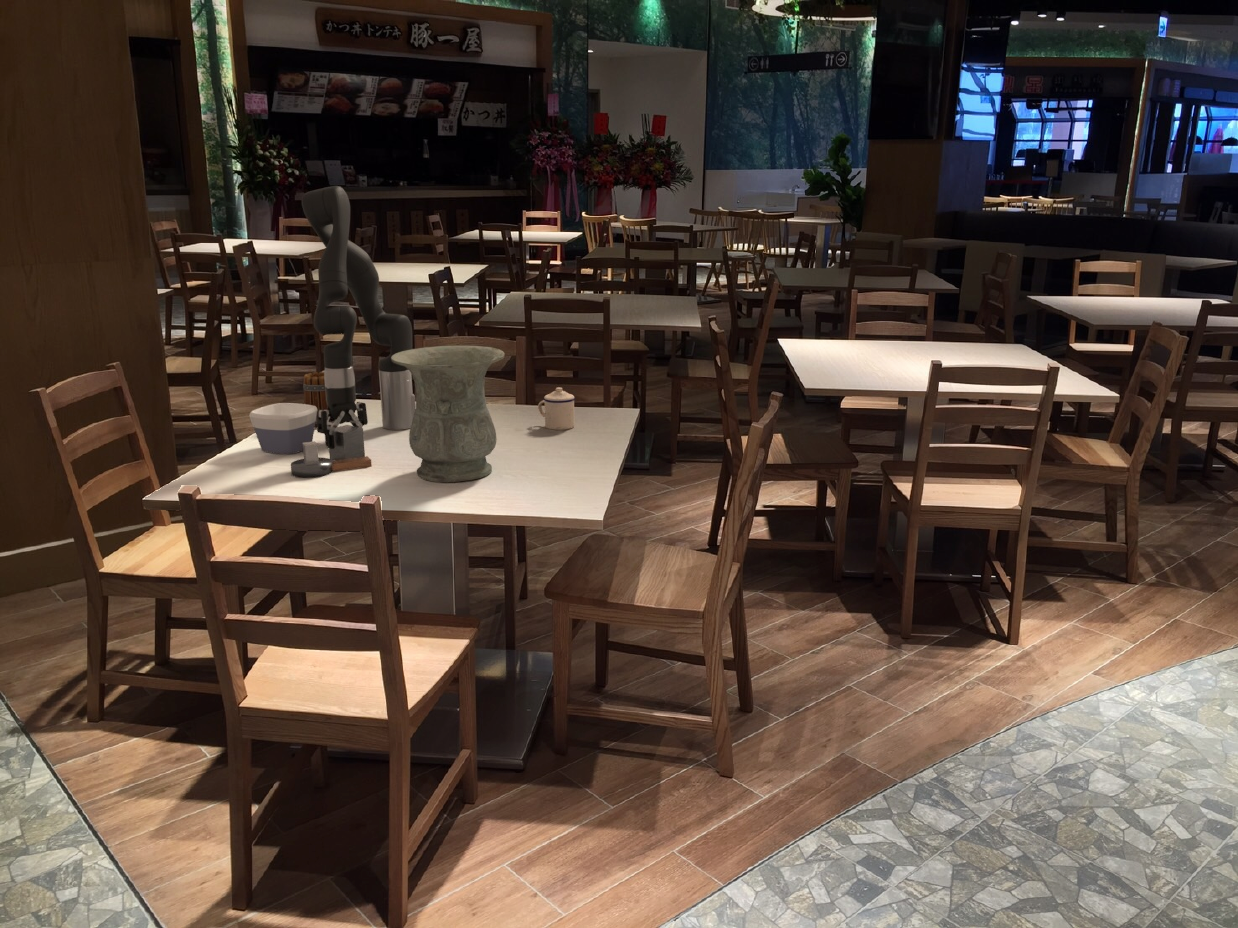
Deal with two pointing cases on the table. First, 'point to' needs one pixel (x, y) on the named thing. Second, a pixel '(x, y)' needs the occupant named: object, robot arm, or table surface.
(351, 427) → the grey rectangular block
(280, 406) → the bowl
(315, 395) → the mug
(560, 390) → the teacup with lid
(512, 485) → the table surface
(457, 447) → the vessel
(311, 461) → the dark handled piece
